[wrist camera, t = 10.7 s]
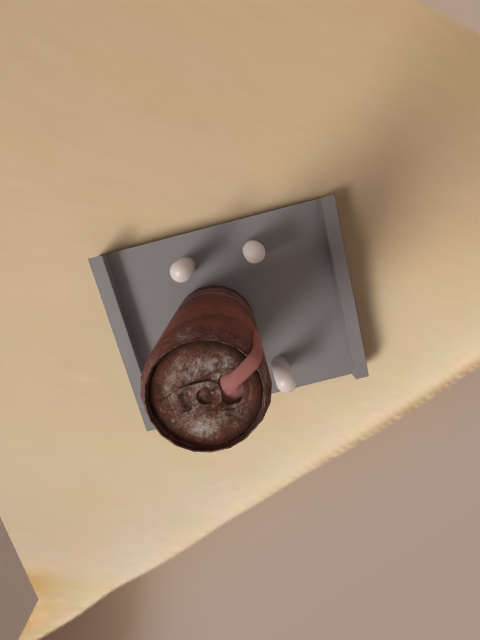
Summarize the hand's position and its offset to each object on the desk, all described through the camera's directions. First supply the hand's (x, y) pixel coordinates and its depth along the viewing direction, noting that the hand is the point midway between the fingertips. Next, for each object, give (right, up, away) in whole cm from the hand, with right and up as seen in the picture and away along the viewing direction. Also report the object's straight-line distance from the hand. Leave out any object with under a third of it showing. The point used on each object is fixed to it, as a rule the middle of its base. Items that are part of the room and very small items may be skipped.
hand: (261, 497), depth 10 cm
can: (-2, +4, +21) cm, 22 cm away
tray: (-1, +5, +22) cm, 23 cm away
